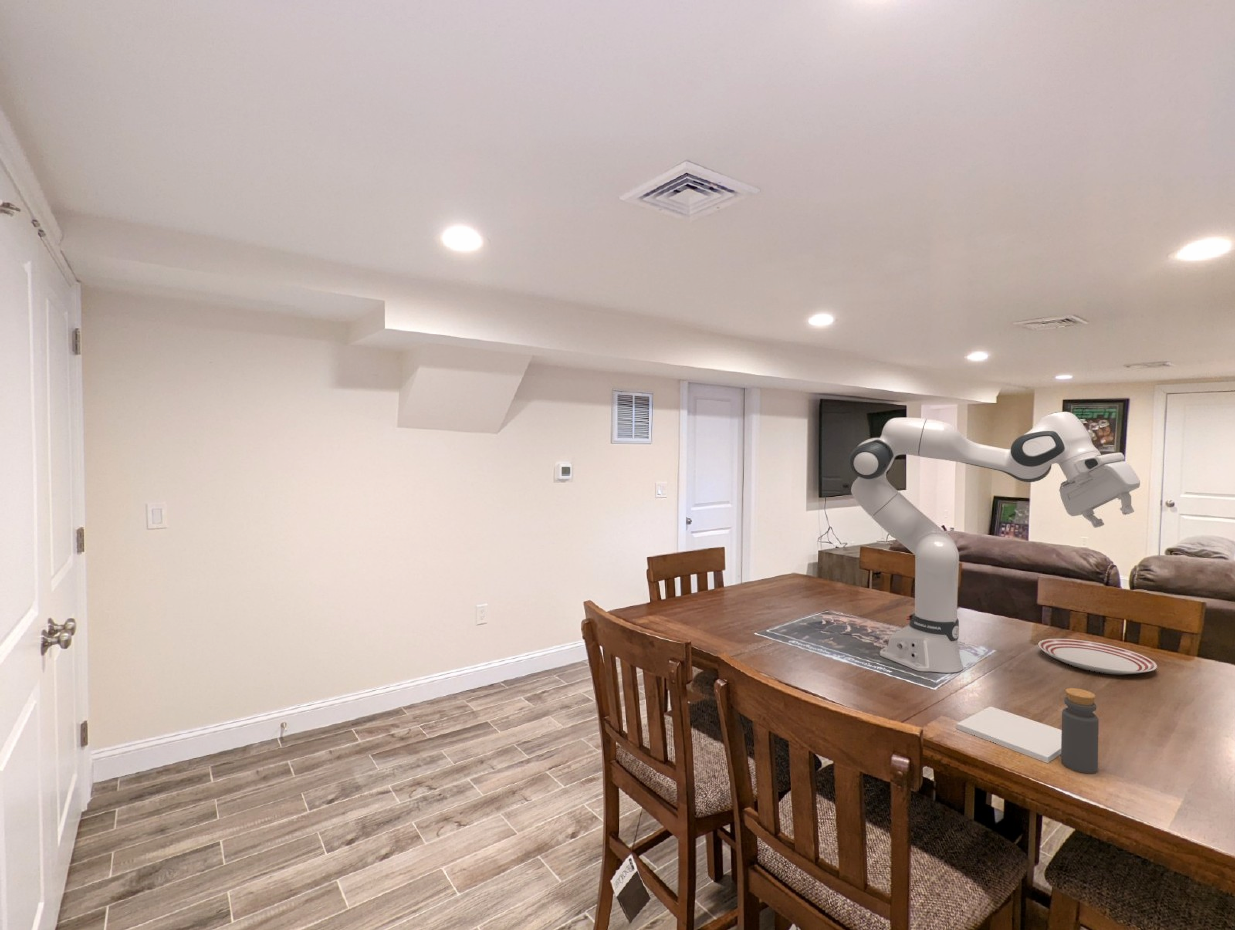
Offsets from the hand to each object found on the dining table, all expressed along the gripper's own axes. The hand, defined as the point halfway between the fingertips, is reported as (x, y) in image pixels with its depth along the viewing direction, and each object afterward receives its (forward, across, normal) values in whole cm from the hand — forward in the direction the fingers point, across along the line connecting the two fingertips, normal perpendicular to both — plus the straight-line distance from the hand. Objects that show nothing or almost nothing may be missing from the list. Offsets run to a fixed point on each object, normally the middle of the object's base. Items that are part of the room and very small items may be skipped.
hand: (1113, 520), depth 145 cm
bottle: (+48, +2, -37) cm, 61 cm away
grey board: (+41, -9, -40) cm, 58 cm away
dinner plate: (+32, -48, +16) cm, 59 cm away
